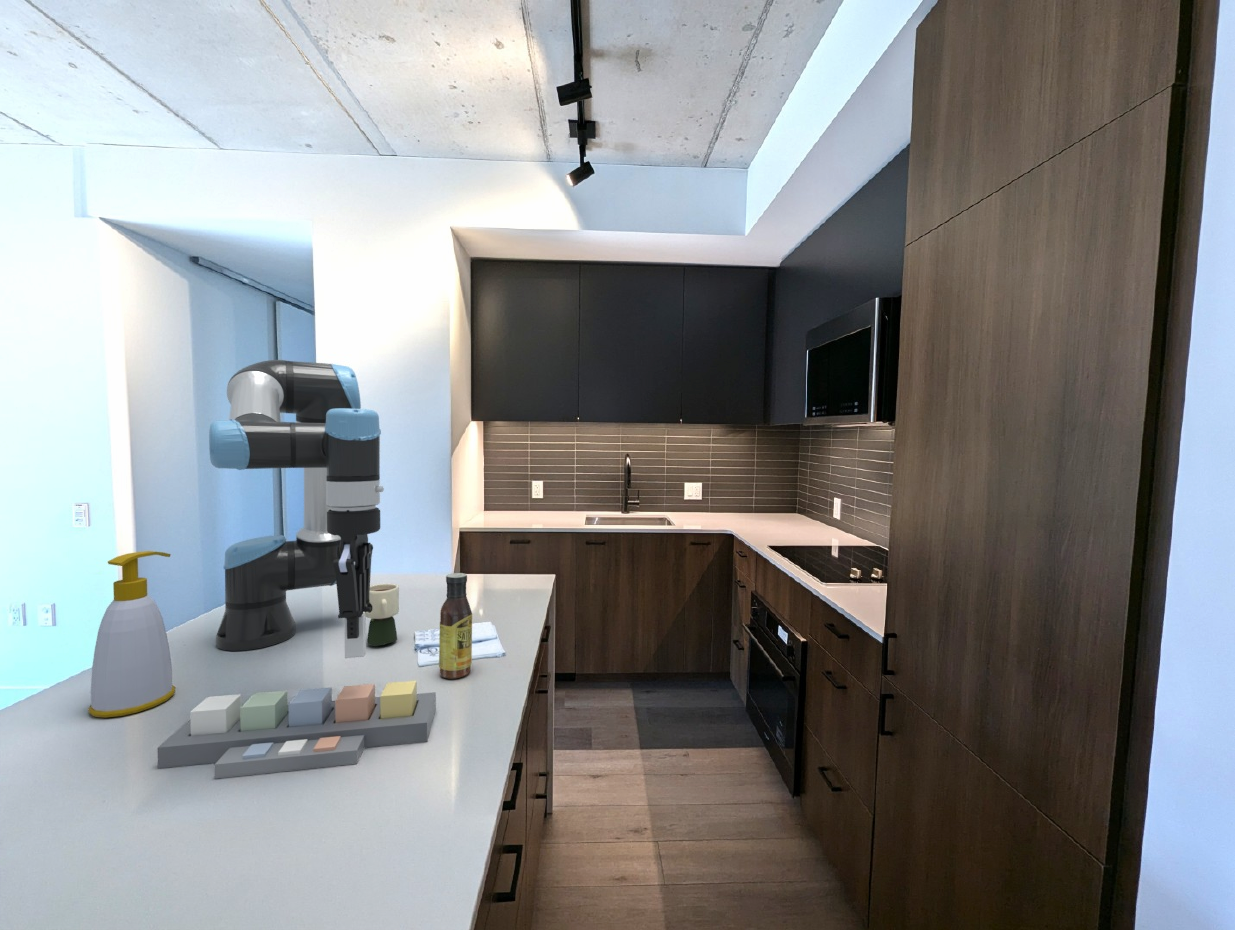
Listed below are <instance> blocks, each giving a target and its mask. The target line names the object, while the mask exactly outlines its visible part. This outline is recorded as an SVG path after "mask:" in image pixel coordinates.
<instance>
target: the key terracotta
mask: <svg viewBox="0 0 1235 930" xmlns="http://www.w3.org/2000/svg"><path fill="white" fill-rule="evenodd" d="M375 697H376V684H375V683H369V684H368V683H367V684H359V685H357V684H356V685H344V687H343V688H342V690H341V691H340V693H338V695H337V697H336V698H335V700H334V701H335V717H336V723H342V722H354V721H365V720H369V719H370V717H371V715H372V713H373V711H374V709H375Z"/></svg>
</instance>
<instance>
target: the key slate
mask: <svg viewBox="0 0 1235 930" xmlns="http://www.w3.org/2000/svg"><path fill="white" fill-rule="evenodd" d="M332 688H333V687H332V686H331V687H329V686H328V687H318V688H317V687H315V688H305V689H302V688H301V689H300V690H298V692H297V693H296V694H295V696H294V697H293V698H292V699H291V700H290V702H288V704H289V727H298V726H309V725H320V724H324V723H325V721H326V720H327V718H328V717H329V715H330V714H331V712H332V701H333V689H332Z"/></svg>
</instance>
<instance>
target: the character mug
mask: <svg viewBox="0 0 1235 930" xmlns="http://www.w3.org/2000/svg"><path fill="white" fill-rule="evenodd" d="M399 592H400V587H399V585H398V584H397V583H396V584H395V583H379V584H377V583H376V584H373V585H370V594H369V599H370V601H369V604H368V605H366V606H367V607H371V611H370V612H364V613H366V618H369V619H370V621H369V625H368V632H367V638H366V643H367V645H369V646H372V647H379V646H385V645H387V644H391V643H393V642H396V641H397V640H398V635H397V634H398V633H397V626H396V621H395V618H394V616H396V615H398V614H399V611H400V596H399V595H400V593H399Z"/></svg>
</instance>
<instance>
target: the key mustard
mask: <svg viewBox="0 0 1235 930" xmlns="http://www.w3.org/2000/svg"><path fill="white" fill-rule="evenodd" d="M417 684H418V683H417V680H409V681H408V680H407V681H396V682H393V681H392V682H386V685H385V686H384V689H383V691H382V692H381V695H380V697H381V719H387V718H398V717H409V716H413V713H414V710H415V708H416V705H417V694H418V693H417V692H418V691H417V689H418V687H417Z"/></svg>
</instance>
